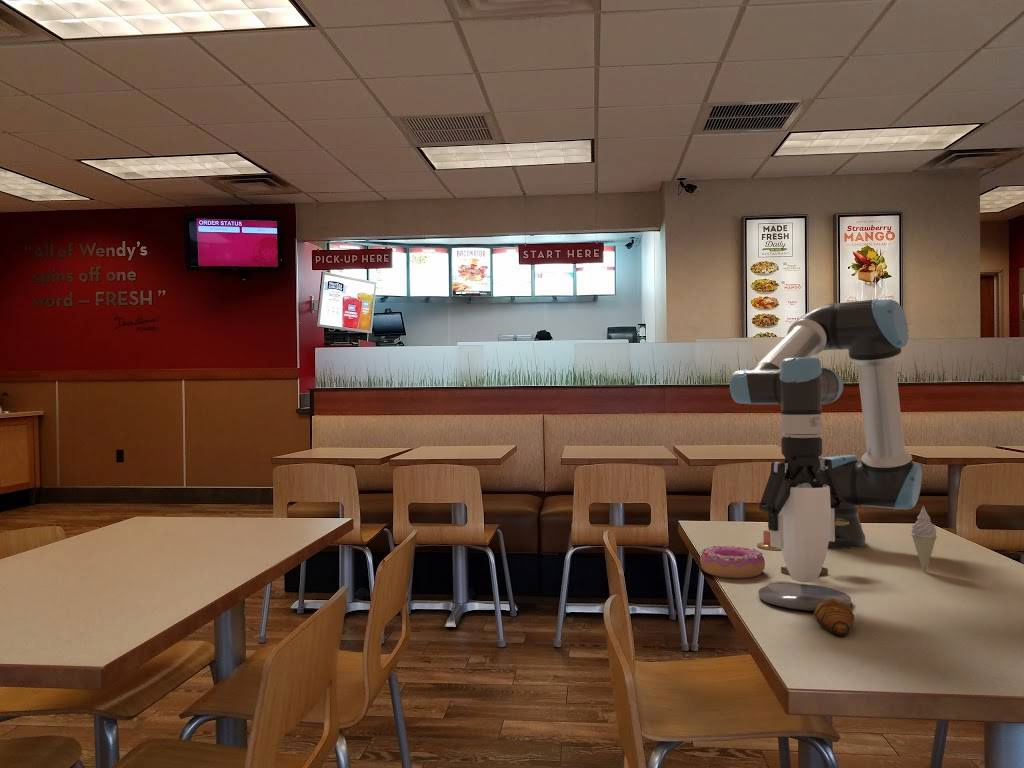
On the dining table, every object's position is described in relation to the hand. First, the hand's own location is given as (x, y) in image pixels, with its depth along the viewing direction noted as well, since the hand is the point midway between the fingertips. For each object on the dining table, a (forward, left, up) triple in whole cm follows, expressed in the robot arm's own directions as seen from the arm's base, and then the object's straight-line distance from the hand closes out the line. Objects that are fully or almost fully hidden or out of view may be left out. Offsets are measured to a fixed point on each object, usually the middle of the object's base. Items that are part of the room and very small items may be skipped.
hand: (803, 543), depth 150 cm
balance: (-16, +17, -11) cm, 26 cm away
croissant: (+14, -7, -12) cm, 19 cm away
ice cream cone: (-4, +41, -11) cm, 43 cm away
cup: (0, 0, -10) cm, 10 cm away
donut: (-25, +4, -12) cm, 28 cm away
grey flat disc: (0, 0, -11) cm, 11 cm away
